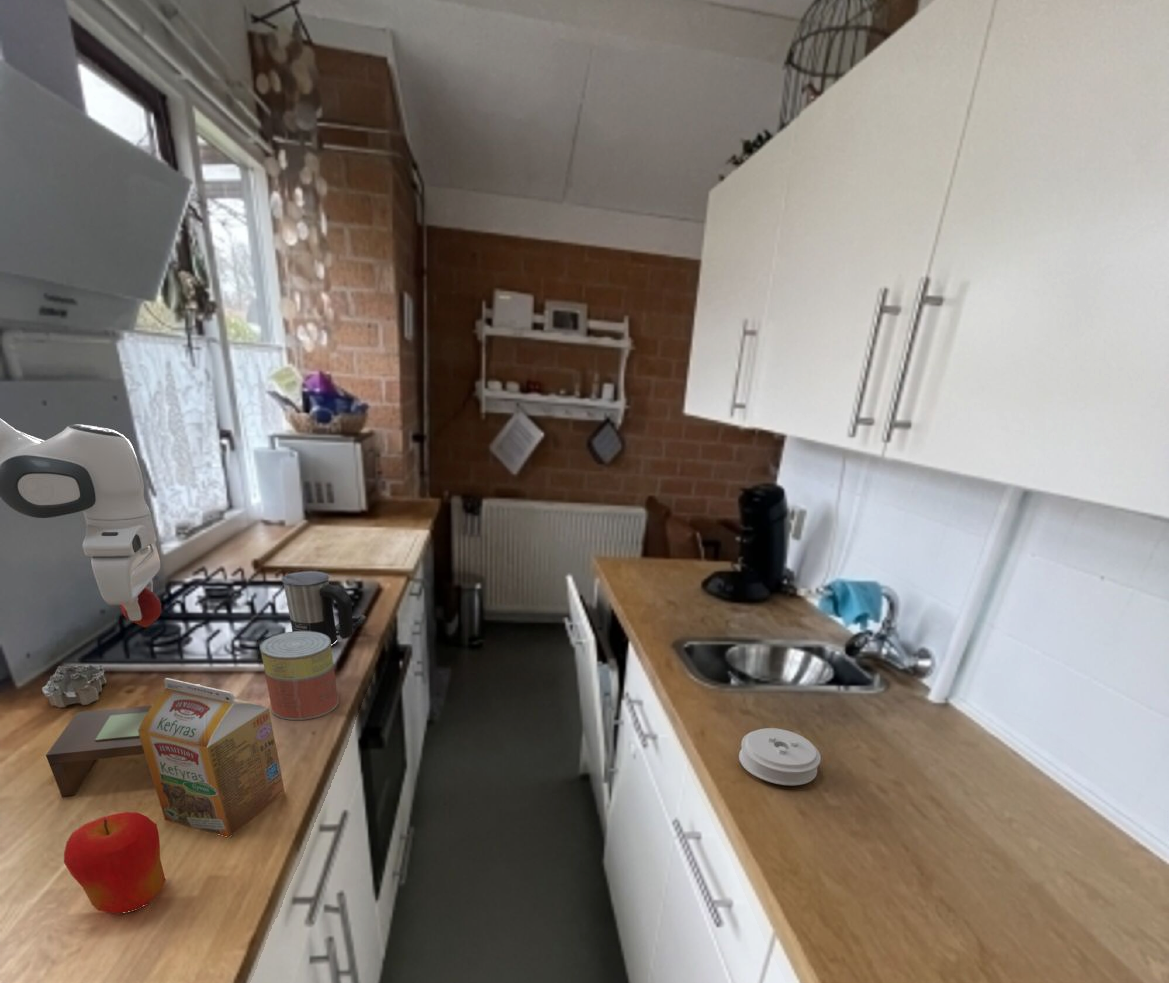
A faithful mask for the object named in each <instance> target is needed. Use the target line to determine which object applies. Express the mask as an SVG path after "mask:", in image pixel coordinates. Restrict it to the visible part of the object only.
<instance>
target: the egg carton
mask: <svg viewBox="0 0 1169 983" xmlns="http://www.w3.org/2000/svg"><path fill="white" fill-rule="evenodd" d="M105 672H106V669H105V666H104V665H101V664H100V665H99V666H98V667H94V666H93V665H91V664H89V665H87V666H86V665H73V666H64V665H58V666H57V668H56V670H55V672H54V673H53V675H51V676H50V677H49V680H47V682H46V684H45V685H44V686H42V687H41V691H42V693H43V694H44V696H45V697H47V698H48V700H49V704H50V706H54V707H57V708H59V709H60V708H61V709H62V708H66V707H67V706H69V705H74V704H81V706H87V705H90V704H91V703H93V702H96V701H98V700H99V699H100V697H99V693H102V692H103V688H102V686H103V685H106V684H107V680H106V677H105Z"/></svg>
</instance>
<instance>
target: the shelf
mask: <svg viewBox="0 0 1169 983" xmlns="http://www.w3.org/2000/svg"><path fill="white" fill-rule="evenodd" d="M196 684H197V685H201V683H196ZM151 707H152V705H143V706H142V705H141V706H131V707H130V706H129V707H120V708H108V709H98V710H97V709H96V710H86V711H85V710H84V711H76V713H75V714H74V715H73V717H72V718H71V720H70V721H69V722H68V724H67V725H66V726H65V727H64V729H63V731H62V732H61V734H60V735H59V736H58V738H56V740H55V742H54V743H53V744H52V746H51V747H50V748H49V750H48V752H46V754H45V757H46V759H47V762H48V765H49V768H50V770H51V773H52V775H53V777H54V780H55V783H56V785H57V788H58V790H59V793H60V796H61V797H62V798H64V797H74V796H75V795H76V794H77V792H78V790H79V788H80V787H81V785H82V784H83V782H84V780H85V778H86V777H87V776H88V773H89V772H90V771H91V768H92V767H93V765H94V763H95V762H96V760H102V759H110V758H111V759H112V758H121V757H128V756H129V757H130V756H139V755H145V752H144V749H143V746H142V743H141V739H140V736H139V733H138V729H139V727H140V725H141V723H142V721H143V719H144V717H145V716H146V714H147V713H148V711H149V710H150V708H151Z"/></svg>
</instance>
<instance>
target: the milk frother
mask: <svg viewBox="0 0 1169 983" xmlns="http://www.w3.org/2000/svg"><path fill="white" fill-rule="evenodd" d="M330 578H331V577H330V575H329V574H328V573H326V572H323V571H317V570H315V571H314V570H313V571H312V570H309V571H308V570H307V571H298V572H292V573H289V574H287V575H284V576H282V578H281V582H282V583H283V587H284V592H285V593H284V594H285V598H286V604H287V609H288V614H289V620H290V626H291V632H294V631H312V632H318V633H322V634H325V635H327V636H328V637H329V638H330V639H331V644H333V643H334V642H335V641H336V640H337V638H338V636H340V638H341V639H348V638H349V637H351V636H352V635H353V634H354V629H356V628H358V627H359V626H361V625H363V624H364V623H365V622H366V621H367V616H365V615H363V614H360V615H359V614H358V615H353V608H352V607H353V606H352V600H351V596H350V595H349V593H348V592H347V590H345V589H344V588H342V587H341V586H338V585H333V584H330V582H329V579H330ZM332 599H333V600H334V602H335V603H336V606H337V617H338V623H336V621H335V620H336V619H335V614H334V607H333V606H334V605H333V602H332V601H333V600H332Z"/></svg>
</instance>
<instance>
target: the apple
mask: <svg viewBox="0 0 1169 983" xmlns="http://www.w3.org/2000/svg"><path fill="white" fill-rule="evenodd" d="M63 864H64V865H65V867H66V869H67V871H68V873H69V874H70V875H71V877H72V878H73V879H74V880H75V881H77V883H78V884H79V886H80V887H81V888H82V889H83V891H84V893H85V895H86V897H87V898H88V900H89V902H90V904H91V906H93V907H94V908H95V909H96V910H97V911H99V912H104V913H105V912H106V913H111V914H116V913H122V914H124V913H123V912H128V911H132V910H135V909H138V908H140V907H142V906H143V905H146V904H147V905H149V904H150V903H151V902H152V901H153V900H154V899H155V897H156V896H157V894H158V893H159V892H160V891H161V889H162V888H163V886H164V884H165V881H166V876H165V872H164V868H163V863H162V861H161V842H160V832H159V828H158V824H156V823H155V822H154V821H153V820H152V819H151V818H149V817H148V815H145V814H143V813H141V812H134V811H124V812H118V813H111V814H109V815H106V816H103V817H99V818H97V819H94V820H92V821H90V822H87V823H84V824H82V825H81V826H80V827H78V828H77V829H75V830H74V831H73V832H71V834H70V836H69V837H68V839H67V841H66V843H65V848H64V851H63ZM153 898H154V899H153ZM152 899H153V900H152ZM151 900H152V901H151ZM150 901H151V902H150ZM147 905H146V906H147ZM142 908H143V907H142ZM140 909H141V908H140ZM138 910H139V909H138ZM135 911H136V910H135ZM132 912H133V911H132Z"/></svg>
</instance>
